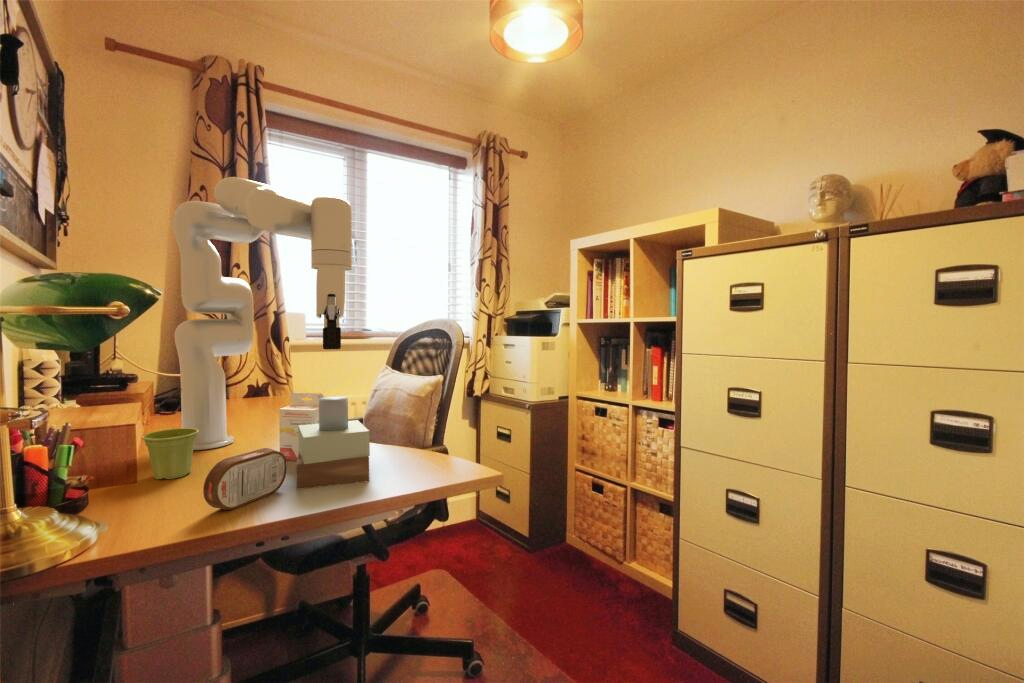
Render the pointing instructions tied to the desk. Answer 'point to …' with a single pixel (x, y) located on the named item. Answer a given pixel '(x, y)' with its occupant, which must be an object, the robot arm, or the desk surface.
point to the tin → (244, 478)
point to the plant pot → (171, 451)
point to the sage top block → (333, 443)
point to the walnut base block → (332, 472)
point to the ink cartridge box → (297, 421)
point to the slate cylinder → (333, 413)
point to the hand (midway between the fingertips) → (332, 347)
